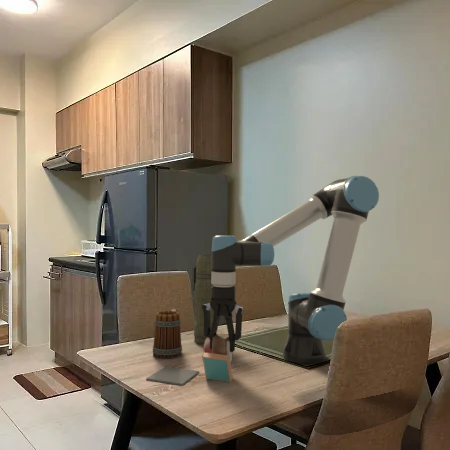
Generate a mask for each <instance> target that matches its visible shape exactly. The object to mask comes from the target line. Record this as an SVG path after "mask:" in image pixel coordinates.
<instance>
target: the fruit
mask: <svg viewBox="0 0 450 450" xmlns="http://www.w3.org/2000/svg"><path fill="white" fill-rule="evenodd" d="M218 334H219V333H216V335H218ZM203 352H204V353H212V349H210V339H209V338H207V339H206V340H205V343H204V344H203Z"/></svg>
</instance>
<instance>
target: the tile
mask: <svg viewBox="0 0 450 450" xmlns="http://www.w3.org/2000/svg"><path fill="white" fill-rule="evenodd" d="M201 358H202V362H203V369H204V375H205V379H207V380H213V381H219V382H220V381H221V382H226V383H227V382H228V383H231V382H232V380H233V379H234V378H233V371H232V370H233V369H232V363H231V362H232V361H230V356H229V355H221V354H213V353H205V352H204V353H203V355H202V357H201Z"/></svg>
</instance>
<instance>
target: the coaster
mask: <svg viewBox="0 0 450 450" xmlns="http://www.w3.org/2000/svg"><path fill="white" fill-rule="evenodd" d="M199 373H200V371H199V370H193V369H187V368H181V367H174V366H173V367H171V366H164V367H163V368H159V370H157V371H156V372H153V373H152V374H151V375H149V376H147V377H146V381H151V382H156V383H157V382H158V383H162V384H163V383H165V384H171V385H176V386H184V385H185V384H186V383H188V382H189V381H190V380H192V379H193V378H194V377H195V376H197V375H198V374H199Z"/></svg>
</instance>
